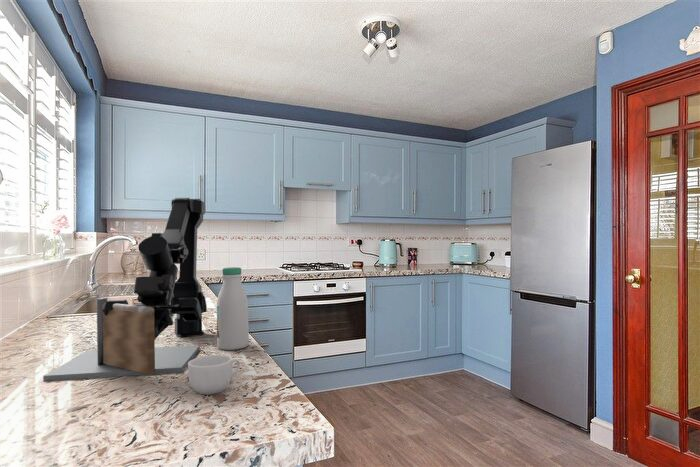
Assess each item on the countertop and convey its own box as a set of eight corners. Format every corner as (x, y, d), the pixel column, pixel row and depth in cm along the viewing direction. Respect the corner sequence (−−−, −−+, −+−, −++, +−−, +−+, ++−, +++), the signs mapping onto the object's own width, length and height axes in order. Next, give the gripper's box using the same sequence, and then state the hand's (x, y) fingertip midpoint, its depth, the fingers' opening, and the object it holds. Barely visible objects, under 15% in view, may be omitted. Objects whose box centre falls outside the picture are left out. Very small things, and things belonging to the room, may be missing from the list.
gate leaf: (103, 363, 88) (102, 302, 88) (110, 361, 89) (109, 301, 89) (147, 374, 80) (146, 307, 80) (155, 371, 82) (154, 306, 82)
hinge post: (107, 361, 91) (106, 297, 91) (109, 364, 89) (108, 298, 89) (96, 363, 89) (96, 298, 89) (98, 365, 88) (97, 299, 88)
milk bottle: (255, 344, 107) (253, 266, 107) (234, 352, 100) (233, 269, 100) (231, 341, 111) (230, 266, 111) (210, 349, 104) (209, 268, 104)
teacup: (201, 402, 70) (201, 370, 70) (180, 391, 75) (179, 361, 75) (251, 385, 78) (251, 356, 78) (229, 376, 83) (228, 349, 83)
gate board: (200, 349, 104) (199, 345, 104) (181, 372, 86) (181, 367, 86) (87, 355, 100) (87, 351, 100) (43, 380, 82) (43, 375, 82)
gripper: (105, 262, 88) (80, 327, 77) (197, 260, 90) (185, 322, 79) (121, 293, 96) (100, 356, 85) (205, 291, 98) (195, 351, 87)
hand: (145, 346), depth 84 cm, fingers closed
